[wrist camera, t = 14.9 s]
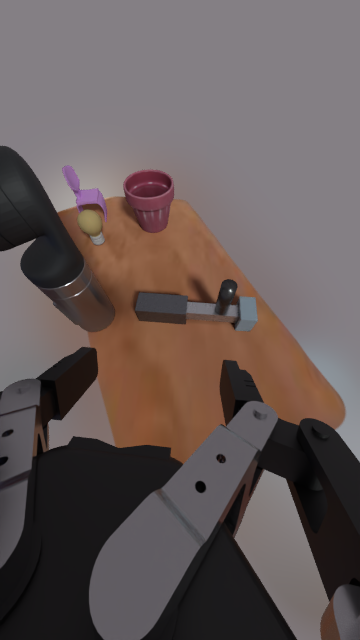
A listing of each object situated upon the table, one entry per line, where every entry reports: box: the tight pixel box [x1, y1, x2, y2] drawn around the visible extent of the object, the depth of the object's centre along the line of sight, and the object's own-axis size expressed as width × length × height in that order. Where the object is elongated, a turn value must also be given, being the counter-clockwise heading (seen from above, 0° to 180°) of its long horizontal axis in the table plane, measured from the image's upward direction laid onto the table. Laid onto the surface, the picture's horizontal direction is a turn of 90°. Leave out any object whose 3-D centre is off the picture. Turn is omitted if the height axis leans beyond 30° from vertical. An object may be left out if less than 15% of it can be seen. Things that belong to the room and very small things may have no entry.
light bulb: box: [77, 210, 105, 245], centre depth 57 cm, size 6×6×10 cm
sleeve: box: [135, 292, 188, 324], centre depth 47 cm, size 12×5×5 cm, turn 85°
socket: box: [235, 297, 258, 331], centre depth 46 cm, size 4×6×6 cm, turn 174°
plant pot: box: [123, 170, 174, 233], centre depth 60 cm, size 14×14×13 cm
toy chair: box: [62, 166, 107, 222], centre depth 61 cm, size 8×9×15 cm
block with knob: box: [186, 279, 240, 323], centre depth 42 cm, size 18×3×12 cm, turn 85°
